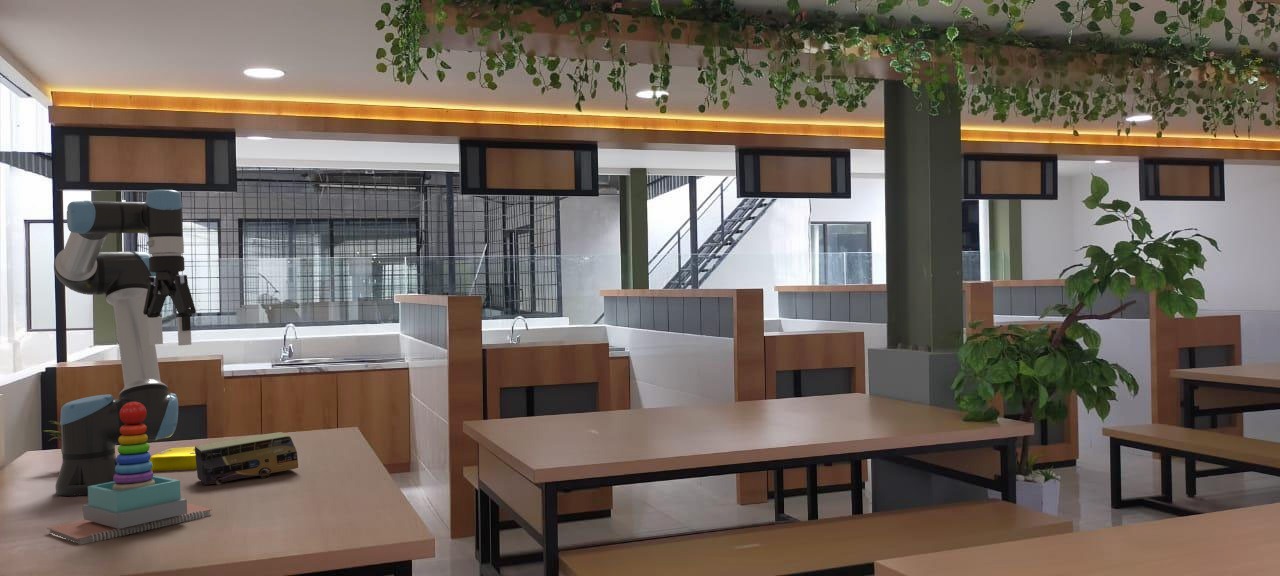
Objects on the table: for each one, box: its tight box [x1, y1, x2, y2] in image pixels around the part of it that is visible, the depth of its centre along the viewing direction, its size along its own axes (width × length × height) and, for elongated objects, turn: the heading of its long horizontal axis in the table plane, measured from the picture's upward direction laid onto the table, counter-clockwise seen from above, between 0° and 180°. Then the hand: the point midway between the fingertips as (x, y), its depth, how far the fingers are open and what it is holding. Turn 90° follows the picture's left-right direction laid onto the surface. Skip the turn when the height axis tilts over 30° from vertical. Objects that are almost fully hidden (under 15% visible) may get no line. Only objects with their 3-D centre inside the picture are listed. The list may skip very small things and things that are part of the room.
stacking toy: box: [113, 402, 155, 491], centre depth 201 cm, size 8×8×19 cm
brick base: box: [82, 474, 188, 529], centre depth 201 cm, size 16×14×7 cm
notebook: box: [46, 502, 213, 545], centre depth 203 cm, size 27×17×2 cm, turn 141°
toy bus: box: [194, 431, 299, 486], centre depth 249 cm, size 10×23×10 cm, turn 124°
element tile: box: [149, 446, 197, 472], centre depth 271 cm, size 15×15×5 cm
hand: (170, 344), depth 226 cm, fingers open, 13 cm apart
